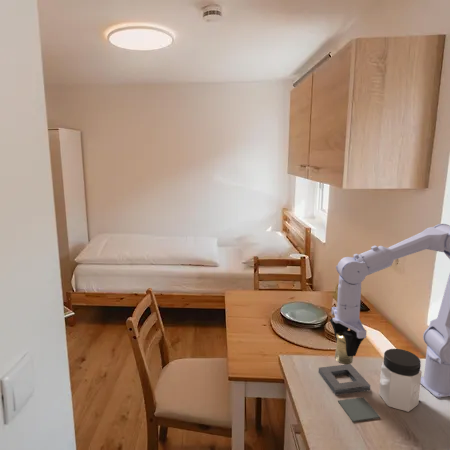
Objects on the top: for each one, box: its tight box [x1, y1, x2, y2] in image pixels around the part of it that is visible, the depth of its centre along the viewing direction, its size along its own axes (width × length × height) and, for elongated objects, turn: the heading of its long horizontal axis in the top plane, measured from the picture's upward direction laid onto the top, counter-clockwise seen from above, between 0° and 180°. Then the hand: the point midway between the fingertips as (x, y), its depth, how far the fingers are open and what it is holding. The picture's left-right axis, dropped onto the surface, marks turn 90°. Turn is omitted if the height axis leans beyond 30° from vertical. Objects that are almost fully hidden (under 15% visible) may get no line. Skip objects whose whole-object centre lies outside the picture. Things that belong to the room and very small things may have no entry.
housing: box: [318, 363, 371, 396], centre depth 94 cm, size 10×10×2 cm
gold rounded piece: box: [334, 331, 354, 365], centre depth 92 cm, size 5×5×7 cm
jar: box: [378, 348, 423, 412], centre depth 86 cm, size 9×8×12 cm
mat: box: [337, 396, 381, 423], centre depth 84 cm, size 7×7×1 cm
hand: (345, 349), depth 92 cm, fingers closed on gold rounded piece, 5 cm apart
